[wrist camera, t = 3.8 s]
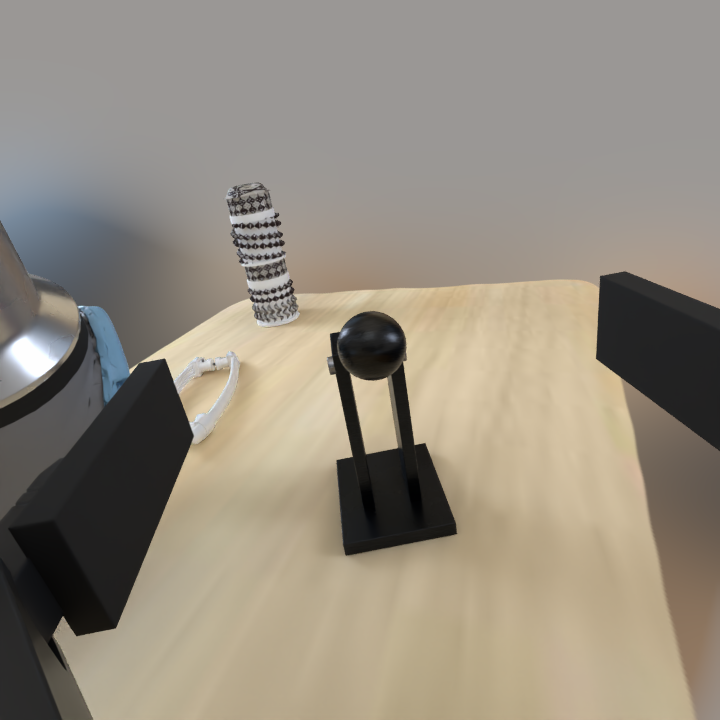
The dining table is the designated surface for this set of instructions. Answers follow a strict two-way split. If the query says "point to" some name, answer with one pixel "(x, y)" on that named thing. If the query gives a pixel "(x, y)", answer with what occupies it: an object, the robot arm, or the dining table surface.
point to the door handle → (207, 421)
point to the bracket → (387, 477)
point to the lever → (371, 345)
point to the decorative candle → (262, 254)
